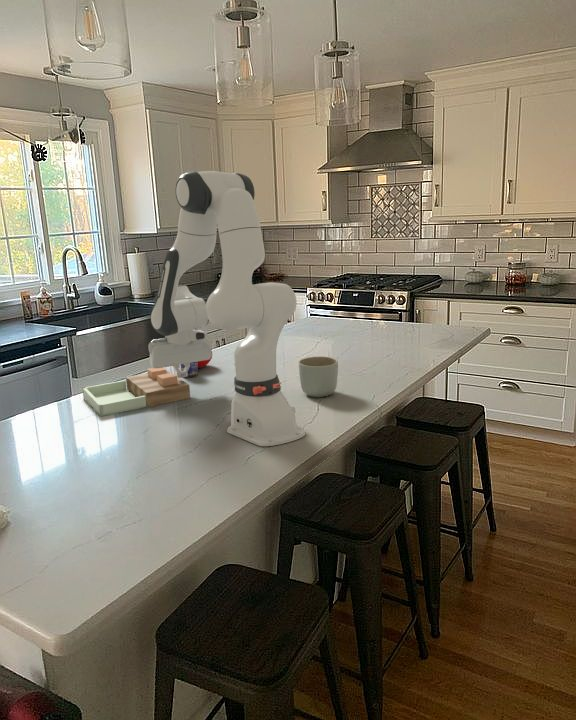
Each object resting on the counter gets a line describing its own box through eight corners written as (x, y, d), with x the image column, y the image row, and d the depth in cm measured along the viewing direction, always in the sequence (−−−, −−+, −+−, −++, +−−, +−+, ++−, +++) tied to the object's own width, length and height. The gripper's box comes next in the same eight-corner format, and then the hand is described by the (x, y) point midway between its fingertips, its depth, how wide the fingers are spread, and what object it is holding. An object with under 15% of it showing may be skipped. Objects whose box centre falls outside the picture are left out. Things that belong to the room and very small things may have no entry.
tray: (146, 407, 183) (145, 396, 182) (100, 416, 176) (99, 405, 175) (125, 390, 201) (124, 380, 200) (83, 398, 194) (82, 387, 193)
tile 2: (167, 376, 199) (166, 369, 198) (152, 379, 196) (151, 372, 195) (161, 373, 203) (161, 366, 202) (147, 375, 200) (147, 368, 200)
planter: (329, 386, 196) (329, 354, 193) (344, 397, 185) (344, 363, 182) (294, 391, 193) (293, 359, 190) (307, 402, 181) (306, 368, 178)
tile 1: (177, 383, 190) (177, 376, 190) (162, 386, 188) (162, 378, 187) (172, 379, 194) (171, 372, 194) (157, 382, 192) (156, 375, 191)
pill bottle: (194, 378, 212) (192, 348, 209) (178, 377, 213) (176, 348, 210) (200, 373, 218) (198, 344, 215) (185, 372, 219) (182, 344, 216)
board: (190, 398, 190) (189, 384, 189) (148, 406, 183) (146, 392, 182) (166, 382, 208) (165, 369, 207) (127, 389, 201) (125, 377, 200)
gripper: (150, 342, 182) (155, 384, 186) (211, 332, 192) (214, 373, 196) (144, 338, 187) (148, 380, 191) (204, 329, 197) (207, 369, 201)
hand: (182, 376), depth 193 cm, fingers closed
